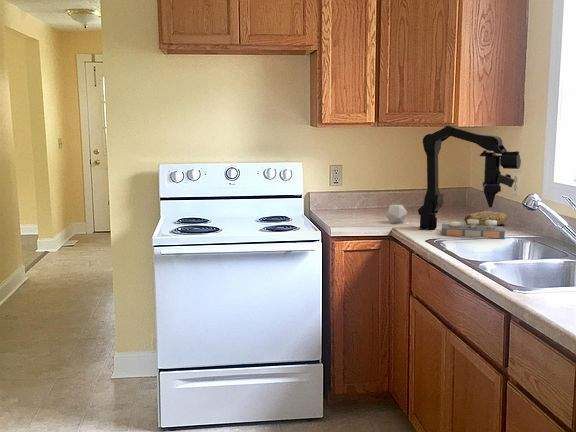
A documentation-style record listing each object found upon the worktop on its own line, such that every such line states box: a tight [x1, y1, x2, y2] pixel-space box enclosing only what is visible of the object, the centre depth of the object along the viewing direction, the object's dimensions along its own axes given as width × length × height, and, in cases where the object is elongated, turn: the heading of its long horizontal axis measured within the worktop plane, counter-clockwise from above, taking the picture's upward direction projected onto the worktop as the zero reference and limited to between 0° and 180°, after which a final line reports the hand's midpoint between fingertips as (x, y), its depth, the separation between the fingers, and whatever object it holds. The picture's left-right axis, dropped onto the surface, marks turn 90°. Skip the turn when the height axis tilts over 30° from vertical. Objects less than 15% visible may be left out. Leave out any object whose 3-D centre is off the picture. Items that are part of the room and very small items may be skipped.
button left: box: [448, 221, 461, 227], centre depth 267 cm, size 4×4×4 cm
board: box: [440, 223, 506, 240], centre depth 265 cm, size 24×11×3 cm, turn 76°
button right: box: [485, 220, 498, 229], centre depth 263 cm, size 4×4×4 cm
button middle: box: [466, 219, 479, 228], centre depth 265 cm, size 4×4×4 cm
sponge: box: [463, 210, 508, 226], centre depth 287 cm, size 13×8×20 cm
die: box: [385, 204, 408, 225], centre depth 292 cm, size 8×9×10 cm
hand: (490, 207), depth 262 cm, fingers closed
